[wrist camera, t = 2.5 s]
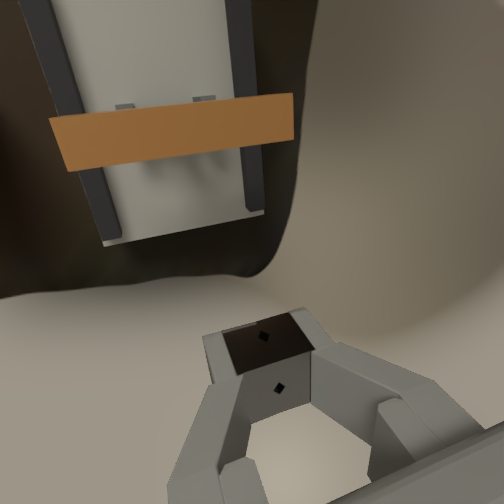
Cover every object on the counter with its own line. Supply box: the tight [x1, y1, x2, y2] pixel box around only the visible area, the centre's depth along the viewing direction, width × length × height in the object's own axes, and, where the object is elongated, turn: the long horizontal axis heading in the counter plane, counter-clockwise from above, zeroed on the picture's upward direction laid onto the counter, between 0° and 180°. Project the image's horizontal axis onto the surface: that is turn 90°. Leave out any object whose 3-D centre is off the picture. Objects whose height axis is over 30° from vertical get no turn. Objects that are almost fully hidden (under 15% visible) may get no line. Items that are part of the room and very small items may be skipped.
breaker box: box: [18, 0, 264, 247], centre depth 24 cm, size 18×14×10 cm
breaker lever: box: [49, 93, 294, 172], centre depth 18 cm, size 2×10×10 cm, turn 95°
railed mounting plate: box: [19, 0, 265, 242], centre depth 22 cm, size 16×13×1 cm
